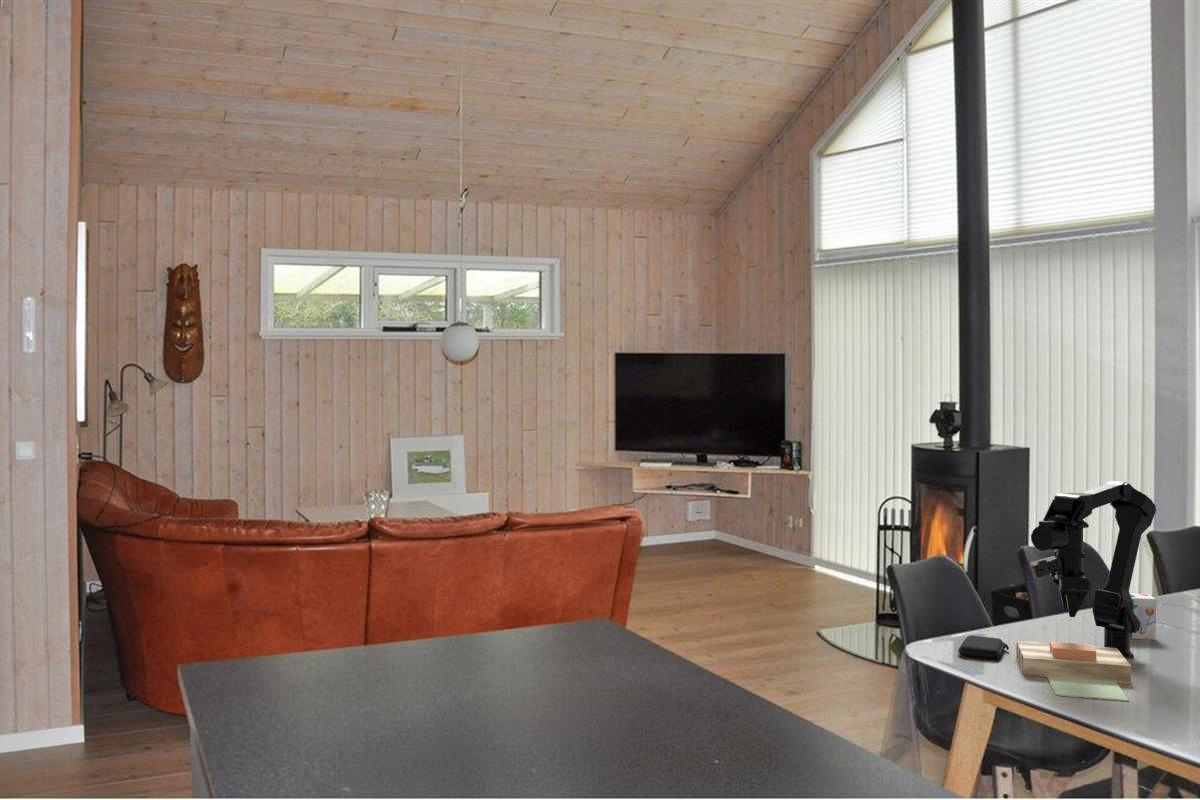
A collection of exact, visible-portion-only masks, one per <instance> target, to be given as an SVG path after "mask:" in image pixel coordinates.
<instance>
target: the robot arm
mask: <svg viewBox="0 0 1200 800" xmlns="http://www.w3.org/2000/svg"><path fill="white" fill-rule="evenodd" d="M1106 505H1110V506H1111V507H1112V508H1113V509H1114V510H1115V512H1114V518H1115V520H1116V523H1117V525H1118V534H1117V538H1116V543H1115V546H1114V551H1113V555H1112V561H1111V565H1110V569H1109V573H1108V578H1107V582H1106V585H1105V586H1104V587H1103V588H1102V589H1096V591H1095V593H1094V600H1093V602H1092V615H1093V619H1094V623H1095V626H1096V627H1101V628H1104V629H1103V630H1104V631H1103V647H1109V648H1117V649H1118V650H1119V651H1120V653H1121V654H1122V655H1123V656H1124V658H1135V655H1134V654H1133V652H1132V651H1131V638H1130V633H1137V631H1139V629H1140V624H1141V623H1140V621H1139V620H1138V618H1137V617H1136V615H1135V614H1134V612H1133V600H1132V598H1131V595H1130V589H1131V588H1130V587H1131V583H1132V578H1133V573H1134V569H1135V565H1136V561H1137V556H1138V551H1139V547H1140V542H1141V538H1142V534H1144V533H1145V532H1146V530H1147V529H1148V528H1150V527H1151V526H1152V523H1153V520H1154V518H1155V515H1156V511H1157V507H1156V504H1155V503H1154V502H1153V500H1152V499H1151V498H1150V497H1149V496H1148V495H1146V494H1145V493H1143V492H1141V491H1140V490H1139V489H1136V488H1134V486H1132V484H1130V483H1128V482H1126V481H1116V480H1110V481H1107V483H1105V484H1102V485H1098V486H1096V487H1093V488H1090V489H1087V490H1085V491H1082V492H1059V493H1057V494H1056V495H1055V496H1054V498H1053V499H1052V501H1051V502H1050V505H1049V507H1048V508H1047V511H1046V513H1045V515H1044V517H1043V520H1039V521H1038V526H1036V527H1034V529H1033V530H1032V533H1031V534H1030V539H1031V543H1032V545H1033V546H1034V548H1035V549H1037V550H1038V551H1041V552H1044V551H1045V552H1046V551H1053V555H1052V556H1048V557H1043V558H1041V559H1040V558H1039V559H1036V560H1033V561H1030V563H1029V564H1030V567H1031V569H1032V573H1033V575H1034V577H1035V578H1036V579H1039V578H1040V579H1041V578H1043V577H1044V576H1047V575H1049V576H1050V577H1051V580H1052V581H1053V582H1054V584H1056V585H1057V586H1058V590H1059V594H1060V598H1061V603H1062V607H1063V609H1064V610H1066V611H1067V610H1068V615H1069V618H1075V617H1076V616H1077V613H1078V611H1079V610H1080V608H1081V606H1082V604H1083V602H1084V600H1085V598H1086V596H1087V595H1088V594H1089V592H1090V591H1091V590H1092V589H1091V588H1092V587H1091V586H1092V582H1091V581H1090V579H1088V578H1087V577H1086V576H1085V573H1086V572H1085V571H1084V559H1085V558H1086V556H1085V555H1086V554H1085V553H1084V529H1088V528H1089V526H1090V525H1089V523H1088V522H1086V520H1084V519H1086V518H1087V517H1089V516H1091V515H1092V513H1093V510H1094V509H1097V508H1098V509H1099V508H1100V507H1103V506H1106Z"/></svg>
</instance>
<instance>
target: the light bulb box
mask: <svg viewBox="0 0 1200 800" xmlns="http://www.w3.org/2000/svg"><path fill="white" fill-rule="evenodd" d="M1129 593H1130V592H1129ZM1130 595H1131V598H1132V600H1133V612H1134V614H1135V615H1136V617H1137V618H1138V620H1139V621H1140V623H1141V624H1140V629H1139V631H1137V633H1130V639H1134V640H1136V639H1137V640H1156V637H1157V636H1156V635H1157V634H1156V631H1157V601H1158V600H1157V598H1155V597H1153V596H1152V595H1151V594H1149V593H1132V592H1131V593H1130Z"/></svg>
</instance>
